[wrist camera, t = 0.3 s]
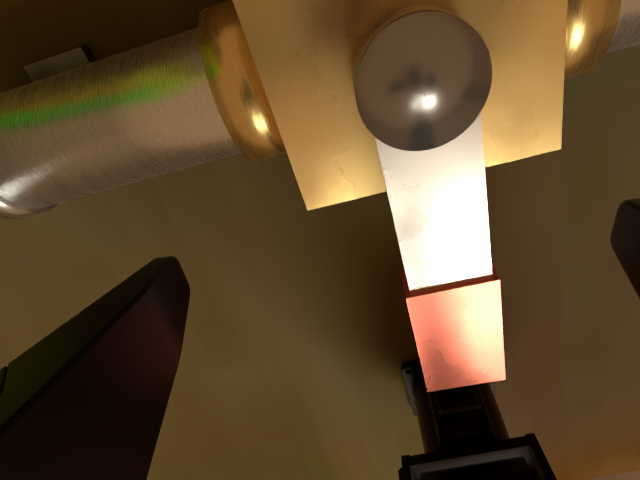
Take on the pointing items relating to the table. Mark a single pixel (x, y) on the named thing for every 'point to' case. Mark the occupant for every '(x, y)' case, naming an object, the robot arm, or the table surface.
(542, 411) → the table surface
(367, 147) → the valve
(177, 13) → the table surface
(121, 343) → the robot arm
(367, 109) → the lever
